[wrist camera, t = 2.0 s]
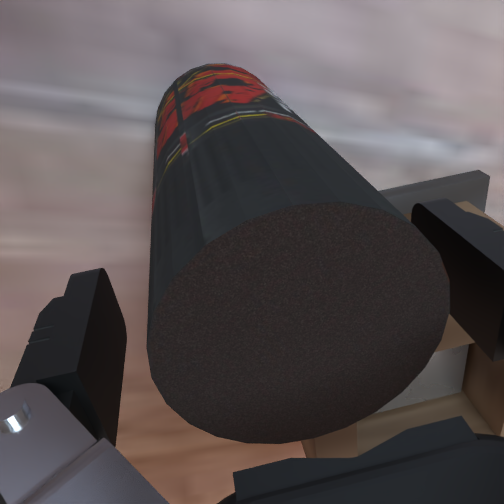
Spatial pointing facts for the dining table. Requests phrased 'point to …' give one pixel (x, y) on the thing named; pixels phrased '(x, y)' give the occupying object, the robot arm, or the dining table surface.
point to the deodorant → (277, 271)
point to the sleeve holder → (477, 363)
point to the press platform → (434, 379)
